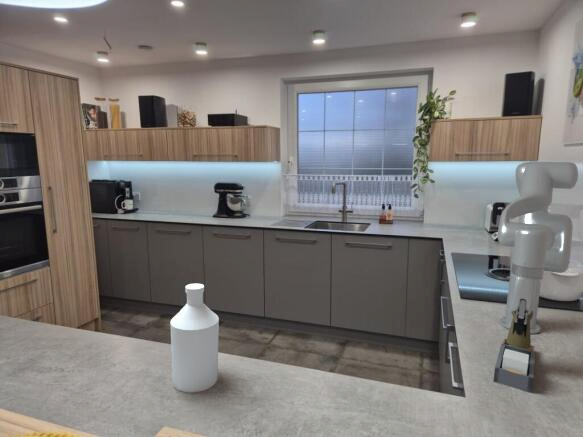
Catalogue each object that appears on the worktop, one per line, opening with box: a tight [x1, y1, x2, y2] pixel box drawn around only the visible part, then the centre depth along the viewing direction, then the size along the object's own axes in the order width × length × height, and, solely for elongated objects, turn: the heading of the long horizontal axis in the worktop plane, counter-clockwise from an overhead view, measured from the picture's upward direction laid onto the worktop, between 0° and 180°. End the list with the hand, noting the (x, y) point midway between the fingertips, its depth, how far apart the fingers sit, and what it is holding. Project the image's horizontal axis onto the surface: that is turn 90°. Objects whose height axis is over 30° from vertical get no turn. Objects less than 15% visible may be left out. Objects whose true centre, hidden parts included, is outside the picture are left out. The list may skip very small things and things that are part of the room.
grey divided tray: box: [493, 343, 536, 394], centre depth 103 cm, size 17×9×4 cm, turn 145°
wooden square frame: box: [502, 338, 536, 352], centre depth 114 cm, size 8×8×2 cm
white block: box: [502, 349, 529, 376], centre depth 99 cm, size 6×6×7 cm
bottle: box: [170, 283, 220, 393], centre depth 94 cm, size 12×12×25 cm
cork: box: [506, 309, 533, 349], centre depth 105 cm, size 6×6×11 cm
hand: (519, 332), depth 105 cm, fingers closed on cork, 3 cm apart
